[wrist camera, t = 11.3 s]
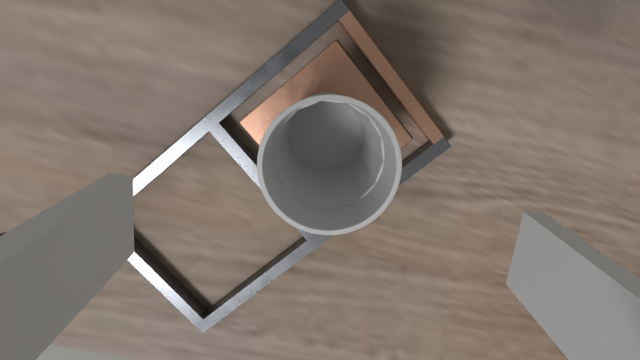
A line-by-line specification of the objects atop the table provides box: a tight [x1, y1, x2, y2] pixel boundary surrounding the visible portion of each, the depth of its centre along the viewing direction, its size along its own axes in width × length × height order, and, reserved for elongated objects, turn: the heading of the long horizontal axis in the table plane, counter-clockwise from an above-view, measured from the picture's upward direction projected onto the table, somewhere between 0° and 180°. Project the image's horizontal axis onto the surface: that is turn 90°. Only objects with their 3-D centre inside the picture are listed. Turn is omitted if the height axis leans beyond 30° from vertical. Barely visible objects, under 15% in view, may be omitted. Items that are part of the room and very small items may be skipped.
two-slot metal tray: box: [128, 0, 451, 333], centre depth 36 cm, size 27×14×2 cm, turn 129°
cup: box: [257, 92, 402, 235], centre depth 30 cm, size 8×8×12 cm
